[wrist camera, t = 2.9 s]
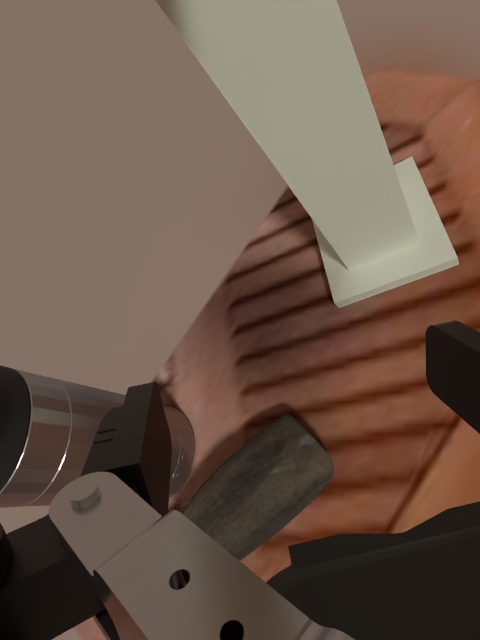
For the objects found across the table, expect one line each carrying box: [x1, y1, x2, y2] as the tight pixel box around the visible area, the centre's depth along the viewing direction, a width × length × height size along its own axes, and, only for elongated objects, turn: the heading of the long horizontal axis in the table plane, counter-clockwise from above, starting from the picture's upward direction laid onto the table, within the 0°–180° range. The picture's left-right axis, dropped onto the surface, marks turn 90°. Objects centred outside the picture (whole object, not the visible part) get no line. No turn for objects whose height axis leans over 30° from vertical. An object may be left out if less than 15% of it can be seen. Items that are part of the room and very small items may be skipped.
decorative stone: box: [182, 414, 334, 561], centre depth 33 cm, size 17×6×4 cm, turn 128°
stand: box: [155, 0, 459, 308], centre depth 24 cm, size 11×10×32 cm
